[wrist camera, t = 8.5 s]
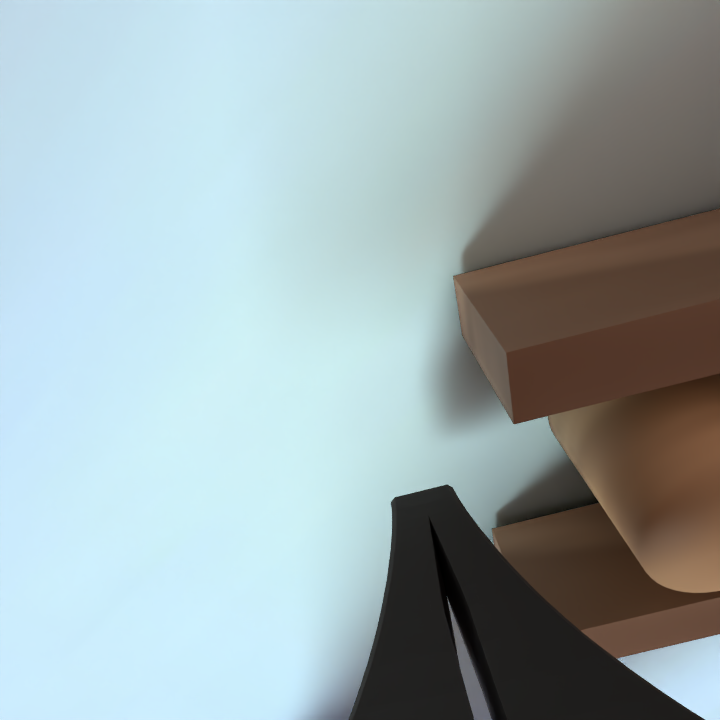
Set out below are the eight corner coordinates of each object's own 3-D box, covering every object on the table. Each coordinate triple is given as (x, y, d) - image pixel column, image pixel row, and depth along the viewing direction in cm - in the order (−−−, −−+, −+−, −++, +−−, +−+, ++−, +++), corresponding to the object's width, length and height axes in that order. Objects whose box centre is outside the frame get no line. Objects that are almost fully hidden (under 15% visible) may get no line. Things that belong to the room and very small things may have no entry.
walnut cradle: (757, 500, 17) (899, 638, 13) (496, 562, 17) (557, 718, 13) (816, 183, 12) (1068, 250, 8) (453, 275, 12) (528, 385, 8)
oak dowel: (691, 436, 16) (823, 566, 12) (552, 471, 16) (636, 611, 12) (702, 311, 14) (865, 416, 10) (543, 351, 14) (641, 472, 10)
